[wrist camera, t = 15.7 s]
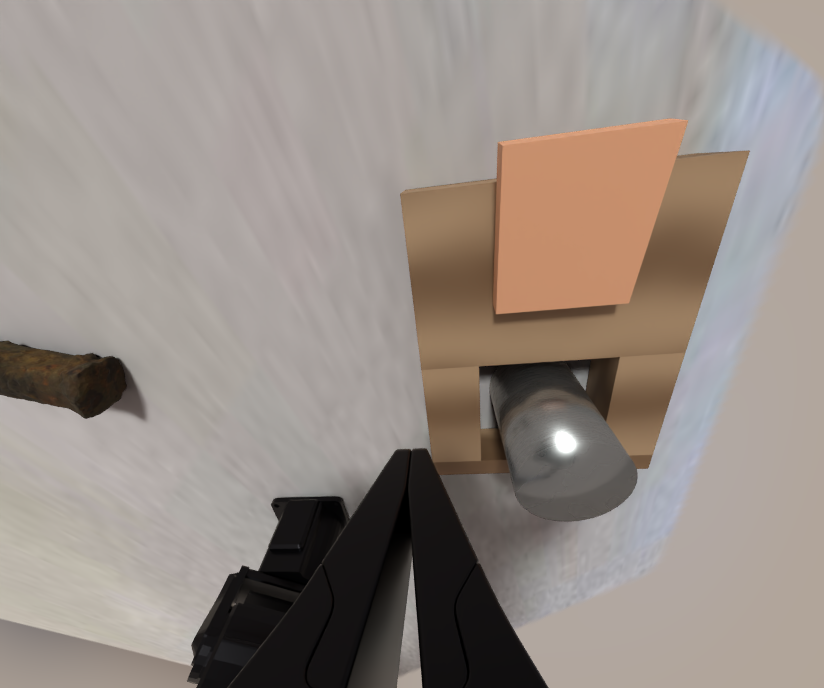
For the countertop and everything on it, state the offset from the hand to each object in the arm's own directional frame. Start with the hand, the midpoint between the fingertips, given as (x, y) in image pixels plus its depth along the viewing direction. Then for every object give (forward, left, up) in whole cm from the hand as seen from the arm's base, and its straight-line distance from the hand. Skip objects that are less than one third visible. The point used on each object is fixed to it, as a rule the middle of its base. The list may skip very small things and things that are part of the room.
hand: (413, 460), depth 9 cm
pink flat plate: (+4, -7, -9) cm, 12 cm away
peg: (-7, -7, -13) cm, 16 cm away
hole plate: (-3, -7, -12) cm, 14 cm away
